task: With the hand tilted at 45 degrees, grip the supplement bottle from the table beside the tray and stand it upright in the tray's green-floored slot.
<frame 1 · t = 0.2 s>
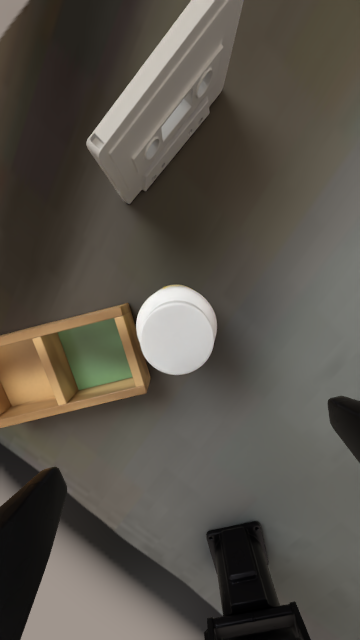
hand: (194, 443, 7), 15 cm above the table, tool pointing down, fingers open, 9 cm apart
tray: (67, 359, 22), on the table
cassette: (170, 148, 18), on the table
supplement bottle: (176, 311, 21), on the table
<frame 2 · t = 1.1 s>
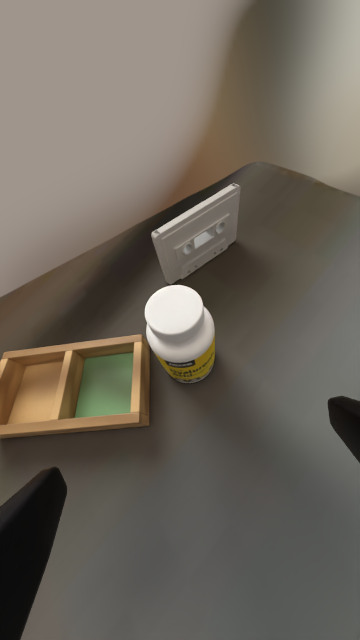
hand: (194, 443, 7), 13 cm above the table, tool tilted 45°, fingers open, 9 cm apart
tray: (79, 389, 23), on the table
cassette: (202, 261, 30), on the table
supplement bottle: (189, 359, 23), on the table
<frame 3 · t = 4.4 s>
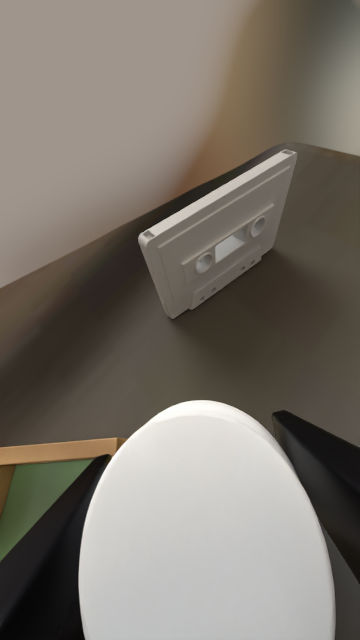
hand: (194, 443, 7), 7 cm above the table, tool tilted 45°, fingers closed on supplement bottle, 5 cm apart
cassette: (222, 280, 19), on the table
supplement bottle: (210, 475, 12), on the table, touching gripper
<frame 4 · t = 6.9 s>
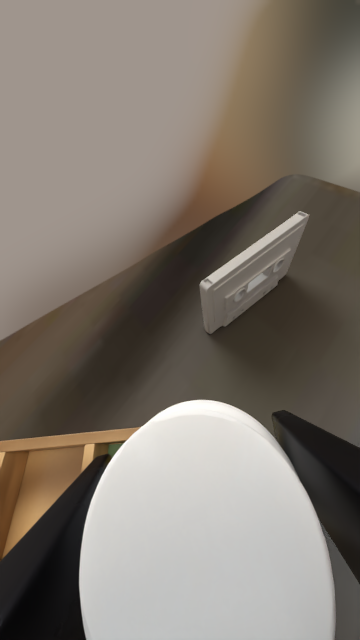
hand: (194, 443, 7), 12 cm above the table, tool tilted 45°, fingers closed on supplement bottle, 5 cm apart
tray: (102, 492, 17), on the table
cassette: (246, 302, 24), on the table
supplement bottle: (210, 475, 12), point 5 cm above the table, touching gripper
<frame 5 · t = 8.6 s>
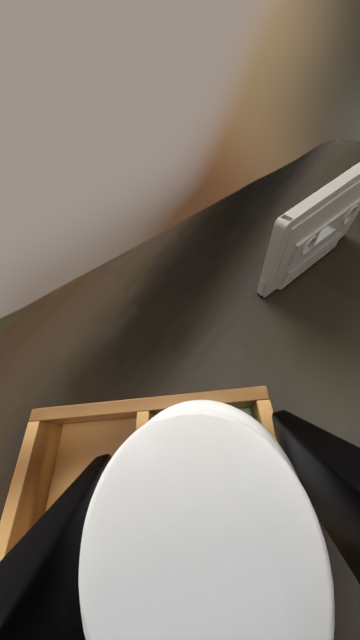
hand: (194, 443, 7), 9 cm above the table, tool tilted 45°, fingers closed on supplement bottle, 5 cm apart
tray: (154, 470, 14), on the table
cassette: (301, 264, 21), on the table
supplement bottle: (210, 475, 12), point 2 cm above the table, touching gripper
when the fingers open (7 cm above the table, at t = 9.6 s): supplement bottle stays where it is, resting on tray.
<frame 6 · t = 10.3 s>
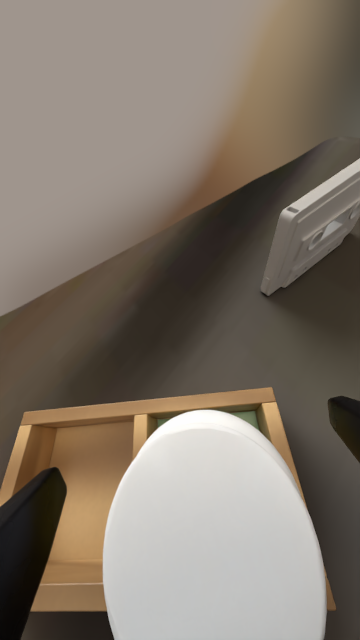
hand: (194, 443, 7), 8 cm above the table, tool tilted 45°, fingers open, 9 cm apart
tray: (153, 478, 13), on the table
cassette: (306, 262, 20), on the table
supplement bottle: (212, 479, 12), point 1 cm above the table, touching tray
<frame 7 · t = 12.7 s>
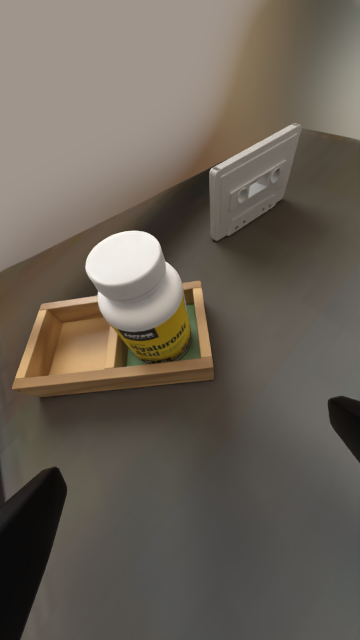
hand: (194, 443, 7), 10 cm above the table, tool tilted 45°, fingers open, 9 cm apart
tray: (126, 345, 20), on the table
cassette: (248, 219, 27), on the table
supplement bottle: (163, 340, 19), point 1 cm above the table, touching tray
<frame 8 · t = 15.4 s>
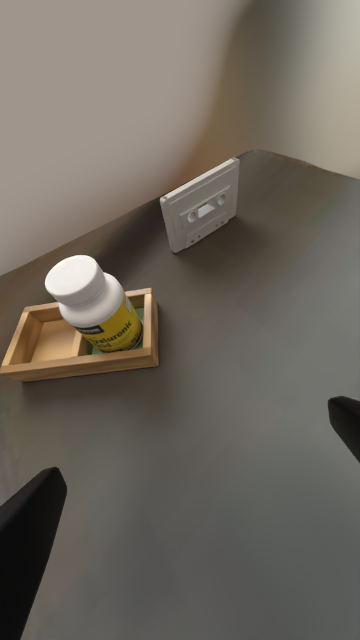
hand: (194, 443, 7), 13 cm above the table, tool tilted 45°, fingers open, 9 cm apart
tray: (93, 340, 25), on the table
cassette: (204, 234, 32), on the table
supplement bottle: (122, 335, 24), point 1 cm above the table, touching tray
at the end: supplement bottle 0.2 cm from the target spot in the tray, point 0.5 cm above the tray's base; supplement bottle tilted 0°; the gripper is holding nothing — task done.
